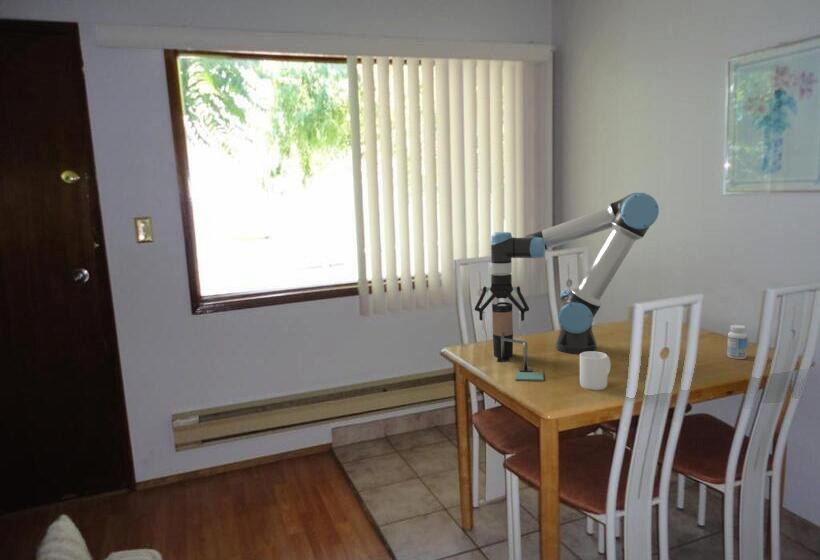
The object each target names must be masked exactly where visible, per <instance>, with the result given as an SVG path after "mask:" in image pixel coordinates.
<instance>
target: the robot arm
mask: <svg viewBox="0 0 820 560" xmlns="http://www.w3.org/2000/svg"><path fill="white" fill-rule="evenodd" d="M659 210H660V208H659V204H658V201H657V200H656V199H655V198H654V197H653V196H651V195H650V194H648V193H645V192H633V193H630V194H628V195H626V196H624V197H623V198H620V199H619V200H617V201H614V202H611V203H609V204H608V205H607V207H605V208H601V209H599V210H597V211H594V212H589V213H588V214H585V215H583V216H580V217H576V218H573V219H570V220H568V221H565V222H563V223H562V222H561V223H560V224H557V225H554V226H551V227H547V228H545V229H542V230H540V231H537V232H534V233H529V234H527V235H525V237H513V236H512V233H511V232H510V231H497V232H493V233H492V234H491V237H490V238H491V240H490V254H491V255H490V258H491V259H490V260H491V262H490V266H491V267H490V269H491V276H490V277H491V286H487V285H483V286H482V293H481V294H480V297H479V299H478V300H477V303H476V305H475V307H474V311H475V312H478V313H479V314H478V316H479V317H478V318H479V320H480V321H482V330H483V331H484V330H485V329H486V316H485V315H486V311H485V309H486V308H487V307H488V306H489V305H490V304H491V302H492V301H494V300H495V298H496V299H503V300H504V299H509V300H510V301H511V303H512V304H513V305H515V306H514V307H516V308H517V309H518V330H519V331H522V322H524V321H525V313H526V312H529V311H530V307H529V306H528V303H527V301H526V300H525V297H524V296H523V294H522V291H521V286H520V285H516V286H513V283H512V282H513V281H512V280H513V279H512V277H513V275H512V271H513V270H512V268H513V267H512V261H513V260H512V259H542V258H544V257H545V255H546V254H545V252H546V251H547V250H550V249H553V248H555V247H557V246H561V245H564V244H567V243H570V242H572V241H576V240H579V239H582V238H585V237H588V236H590V235H593V234H597V233H600V232H603V231H607V230H609V229H611V228H612V229H611V231H610V233H609V234H608V236H607V238H606V240H605V241H604V242H603V245H602V246H601V248H600V250H599V251H598V253H597V255H596V256H595V258H594V259H593V261H592V262H591V264H590V266H589V268H588V270H587V272H586V274H585V275H584V277H583V278H582V279H581V281H580V283H579V285H578V287H574V288H572V289H568V290H562V291H561V292H560V296H559V299H560V307H559V311H558V315H557V319H558V322H559V325H560V329H559V333H558V335H557V339H556V343H555V348H556V350H558V351H559V352H563V353H567V354H580V353H582V352H587V351H597V341H596V339H595V336H594V335H595V334H594V332H593V321H594V318H595V316H597V315H596V314H597V313H598V311H599V310H600V309H601V307H602V303H601V298H602V296H603V295H604V294H605V291H606V290H607V288H608V286H609V285H610V283H611V281H612V280H613V278H614V277H615V275H616V274H617V272H618V271H619V269H620V267H621V265H622V264H623V262H624V260H625V259H626V257H627V255H628V254H629V252H630V251H631V249H632V247H633V246H634V244H635V243H636V242H637V240H641V239H643V238H644V236H645V235H646V234H647V232H648V230H649V228H650V227H651V226H652V225H654V223H655V222H656V221H657V219H658V216H659ZM489 291H490V293H491V295H490V297H488V299H487V300H486V301H485V302H484V303H483V305H481V304H482V302H483V301H484V298H485V296H486V293H489ZM513 291H514V292H515V293H517V295H518V297H519V299H520V301H521V304H522V305H523V306H522V305H521V304H520V303H519V302H518V301H517V300H516V298H515V297H514V296H513V295H512V292H513ZM480 306H481V307H480Z"/></svg>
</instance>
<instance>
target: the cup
mask: <svg viewBox="0 0 820 560" xmlns="http://www.w3.org/2000/svg"><path fill="white" fill-rule="evenodd" d="M610 371H611V359H610V357H609V356H608V355H607V354H606V353H605V352H601V351H597V350H595V351H587V352H582V353H579V385H580V386H581V388H583V389H586V390H591V391H601V390H604V389H606V388H607V387H608V375H609V373H610Z"/></svg>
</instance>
